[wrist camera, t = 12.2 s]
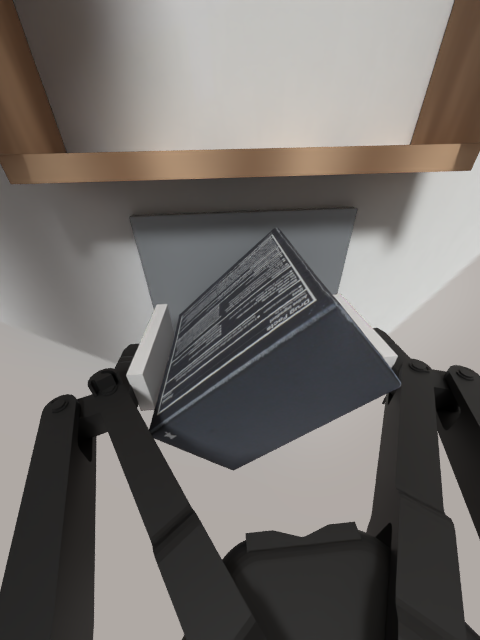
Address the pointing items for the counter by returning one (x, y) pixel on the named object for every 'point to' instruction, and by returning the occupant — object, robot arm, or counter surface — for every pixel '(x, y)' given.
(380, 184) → the counter surface
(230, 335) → the small box
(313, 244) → the mat
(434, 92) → the open wooden tray
